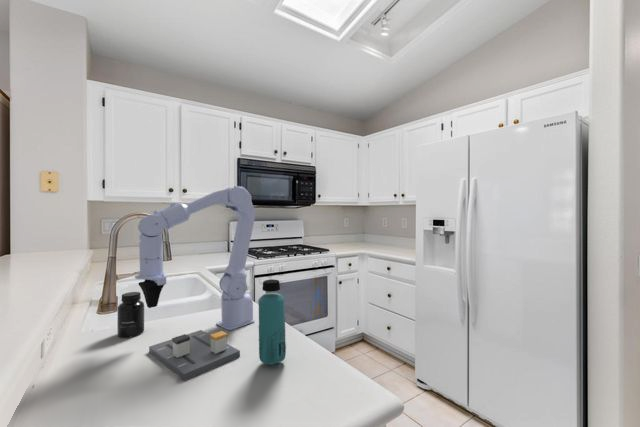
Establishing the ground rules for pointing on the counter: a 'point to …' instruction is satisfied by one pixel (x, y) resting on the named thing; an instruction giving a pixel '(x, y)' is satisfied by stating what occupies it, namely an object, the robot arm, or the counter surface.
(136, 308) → the supplement bottle
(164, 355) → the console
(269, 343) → the beverage bottle
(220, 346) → the fader orange
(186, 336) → the fader black
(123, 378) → the counter surface
